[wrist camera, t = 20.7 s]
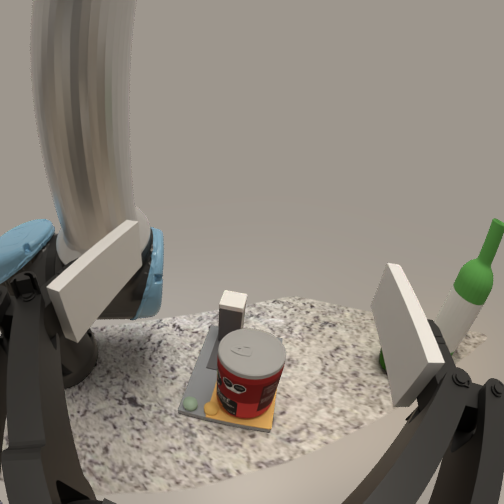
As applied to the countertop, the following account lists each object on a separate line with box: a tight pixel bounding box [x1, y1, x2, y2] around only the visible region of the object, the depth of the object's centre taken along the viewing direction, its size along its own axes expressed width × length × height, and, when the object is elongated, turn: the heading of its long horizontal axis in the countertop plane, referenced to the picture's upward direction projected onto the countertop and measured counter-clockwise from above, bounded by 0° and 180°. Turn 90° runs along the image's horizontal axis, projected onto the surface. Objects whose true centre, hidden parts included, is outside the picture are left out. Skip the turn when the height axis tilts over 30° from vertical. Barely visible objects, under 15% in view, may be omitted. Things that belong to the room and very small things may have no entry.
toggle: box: [218, 290, 247, 341], centre depth 46 cm, size 4×4×8 cm
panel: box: [178, 325, 283, 432], centre depth 41 cm, size 13×18×2 cm
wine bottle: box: [434, 219, 504, 356], centre depth 41 cm, size 8×8×30 cm
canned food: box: [216, 328, 286, 419], centre depth 34 cm, size 8×8×11 cm
